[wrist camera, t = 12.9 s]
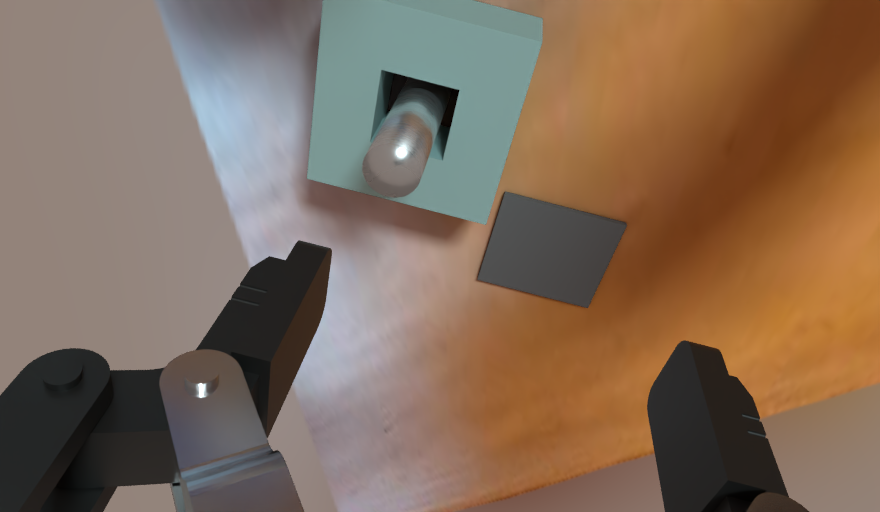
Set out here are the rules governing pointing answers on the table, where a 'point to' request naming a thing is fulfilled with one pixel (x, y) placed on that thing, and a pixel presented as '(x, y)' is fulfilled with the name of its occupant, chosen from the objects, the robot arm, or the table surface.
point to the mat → (549, 249)
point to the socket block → (433, 60)
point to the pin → (406, 139)
